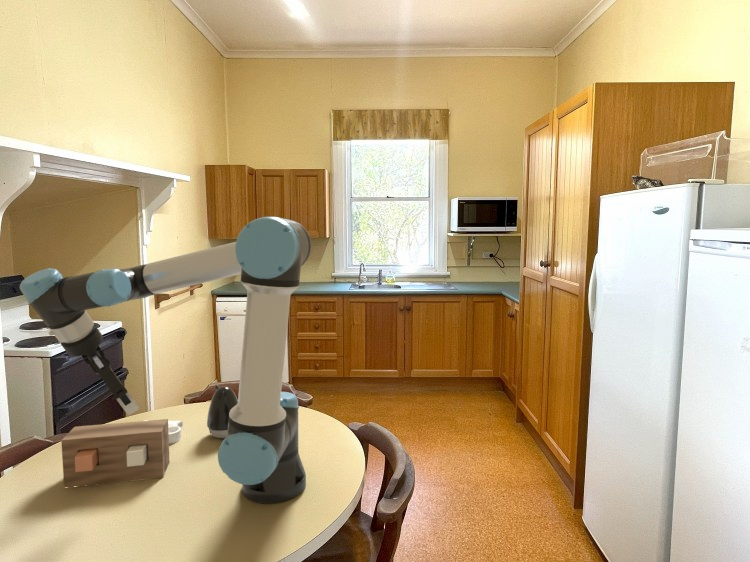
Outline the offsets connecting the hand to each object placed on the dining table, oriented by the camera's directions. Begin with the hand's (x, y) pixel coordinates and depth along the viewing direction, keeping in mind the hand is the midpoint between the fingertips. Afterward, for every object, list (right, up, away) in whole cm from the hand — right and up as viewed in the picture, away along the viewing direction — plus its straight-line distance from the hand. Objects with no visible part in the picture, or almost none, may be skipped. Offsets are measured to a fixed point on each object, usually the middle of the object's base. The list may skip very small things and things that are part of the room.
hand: (124, 398), depth 112 cm
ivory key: (+4, -15, 0) cm, 16 cm away
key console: (-3, -20, +3) cm, 21 cm away
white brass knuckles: (-5, -19, +25) cm, 32 cm away
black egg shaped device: (+16, -18, +27) cm, 36 cm away
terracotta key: (-7, -15, -3) cm, 17 cm away
